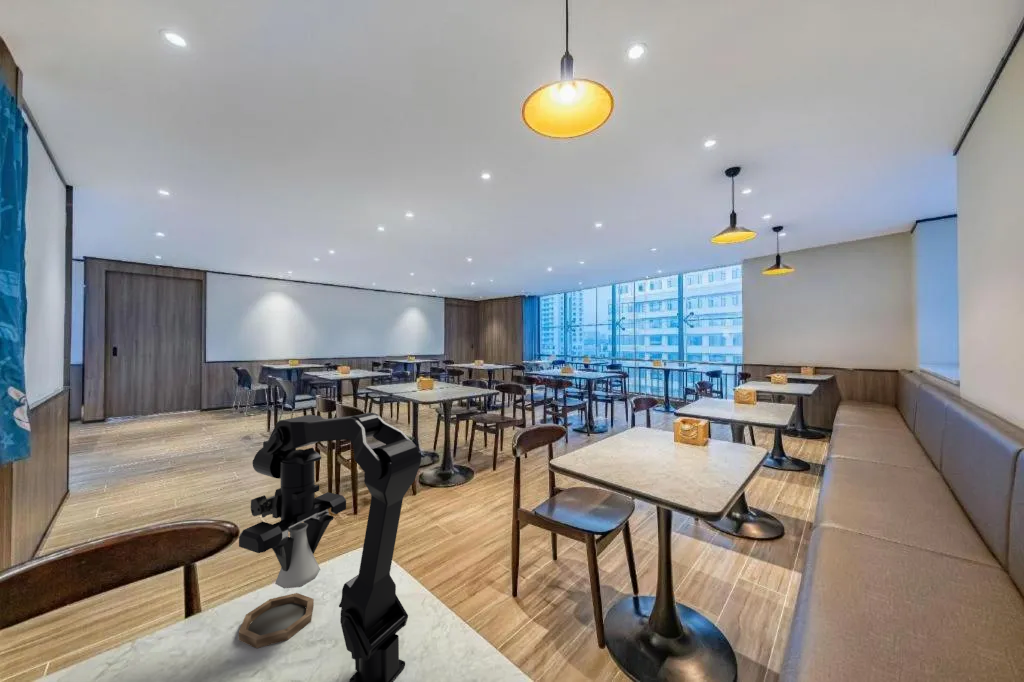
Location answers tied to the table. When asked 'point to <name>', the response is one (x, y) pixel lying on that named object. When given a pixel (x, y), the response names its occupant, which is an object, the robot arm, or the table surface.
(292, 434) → the robot arm
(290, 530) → the flask
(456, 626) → the table surface
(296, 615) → the brown octagonal tray
